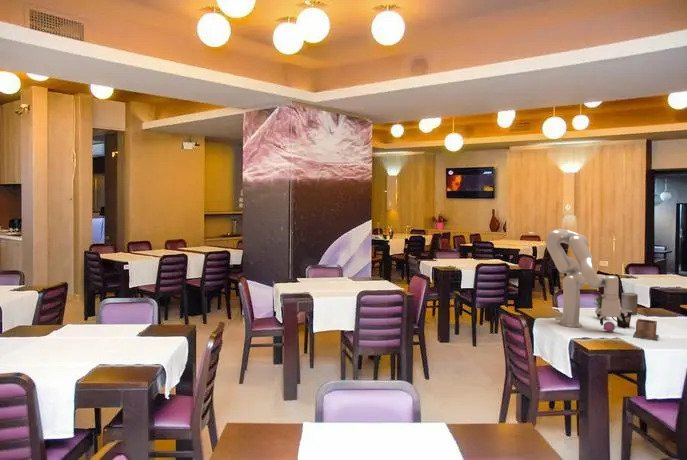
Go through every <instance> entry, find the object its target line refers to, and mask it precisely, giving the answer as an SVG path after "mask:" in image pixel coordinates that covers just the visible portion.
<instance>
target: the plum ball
mask: <svg viewBox="0 0 687 460" xmlns="http://www.w3.org/2000/svg"><path fill="white" fill-rule="evenodd" d="M615 328H616V325H615V323H613V322H612V321H606V322H604V323H603V329H604V331H606V332H607V333H611V332H613V331H615Z"/></svg>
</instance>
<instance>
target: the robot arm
mask: <svg viewBox="0 0 687 460" xmlns="http://www.w3.org/2000/svg"><path fill="white" fill-rule="evenodd" d="M562 243H563V244H566V245H568V246H569V247H570V249H571V251H572V253H573V255H574V256H575V258H574V257H572V256H568V255H567V254H566V252H565V249H564V248H563V246H562V245H561V244H562ZM588 243H589V242H588V238H587V237H586V236H585V235H583V234H580V233H578V232H576V231H575V232H574V231H571V230H568V229H564V228H561V229H559V228H558V229H553V230H551V231H550V232H549V233H548V234H547V236H546V238H545V246H546V249H547V251H548V253H549V255H550V258H551V259H552V261H553V263H554V265H555V268H556V269H557V270H558V272H559V273H561V274H566V275H565V276H564V277H563V280H562V290H563V293H562V295H563V296H562V298H563V299H562V300H563V301H562V316H556V315H555V317H554V320H555V321H559V325H560V326H563V327H568V328H569V327H570V328H581V327H582V322H580V307H581V291H580V288H582V287H584V286H585V285H586V284H587V286H589V287H590V288H592V289H598V288H602V287H604V288H603V294H601V295H600V296H601V297H603V298H604V299H603V300H602V299H601V303H602V306H601V308H600V309H598V310H596V309H595V311H594V313H595V315H596V317H597V316H598V317H599V318H600V319H599V324H600V326H604V320H603V316H607V317H609V318H610V317H611V318H612V317H613V318H617V317H618V318H619V319H620V320H619V327H618V328H621V326H622V320H623V319H625V318H626V316H627V314H628V313H627V312H625V311H623V310H621V300H620V299H619V282H620V281H619V277H618V276H616V275H605V274H600V273H599V274H597V273H596V271H595V269H594V267H593V255H592V253H591V252H590V249H589V248H588ZM599 311H601V315H600V314H599V313H598V312H599ZM621 313H623V314H624V316H623V317H621V316H620V315H621Z"/></svg>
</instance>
